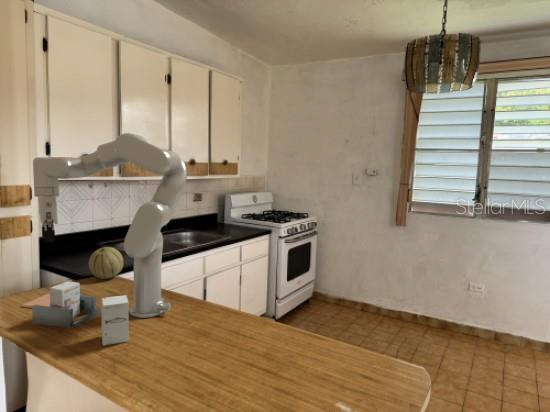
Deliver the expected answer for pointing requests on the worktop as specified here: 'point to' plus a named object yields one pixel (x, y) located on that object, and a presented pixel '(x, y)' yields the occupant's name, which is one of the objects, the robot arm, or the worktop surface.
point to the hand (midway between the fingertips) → (48, 239)
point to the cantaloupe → (106, 263)
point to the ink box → (66, 296)
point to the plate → (39, 301)
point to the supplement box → (114, 319)
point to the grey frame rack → (65, 313)
